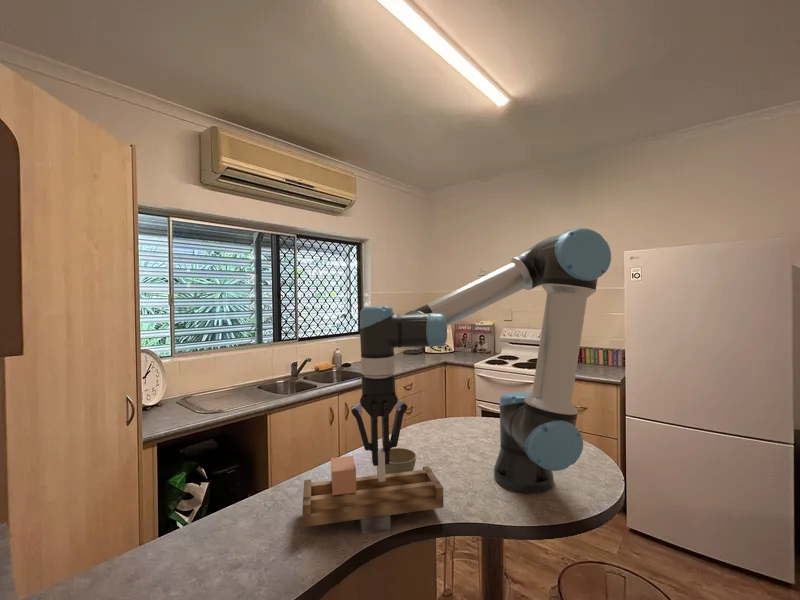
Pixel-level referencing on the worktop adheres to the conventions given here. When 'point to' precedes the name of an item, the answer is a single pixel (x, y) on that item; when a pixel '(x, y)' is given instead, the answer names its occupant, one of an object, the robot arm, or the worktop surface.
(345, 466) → the block
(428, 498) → the wooden crate
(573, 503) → the worktop surface
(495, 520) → the worktop surface
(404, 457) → the flower pot
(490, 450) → the worktop surface
